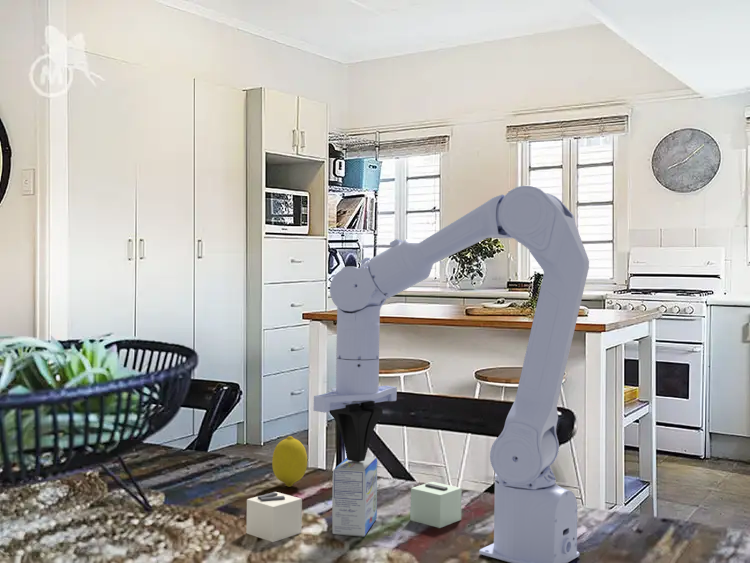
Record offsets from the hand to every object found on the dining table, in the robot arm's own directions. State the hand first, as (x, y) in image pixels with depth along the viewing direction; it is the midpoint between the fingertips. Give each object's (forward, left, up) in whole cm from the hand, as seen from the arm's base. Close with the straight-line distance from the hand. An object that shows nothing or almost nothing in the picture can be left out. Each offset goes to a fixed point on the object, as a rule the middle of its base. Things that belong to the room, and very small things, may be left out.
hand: (355, 460), depth 105 cm
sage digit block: (-6, -10, -9) cm, 15 cm away
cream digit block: (+6, +9, -9) cm, 14 cm away
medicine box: (0, 0, -9) cm, 9 cm away
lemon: (+21, -8, -9) cm, 24 cm away
